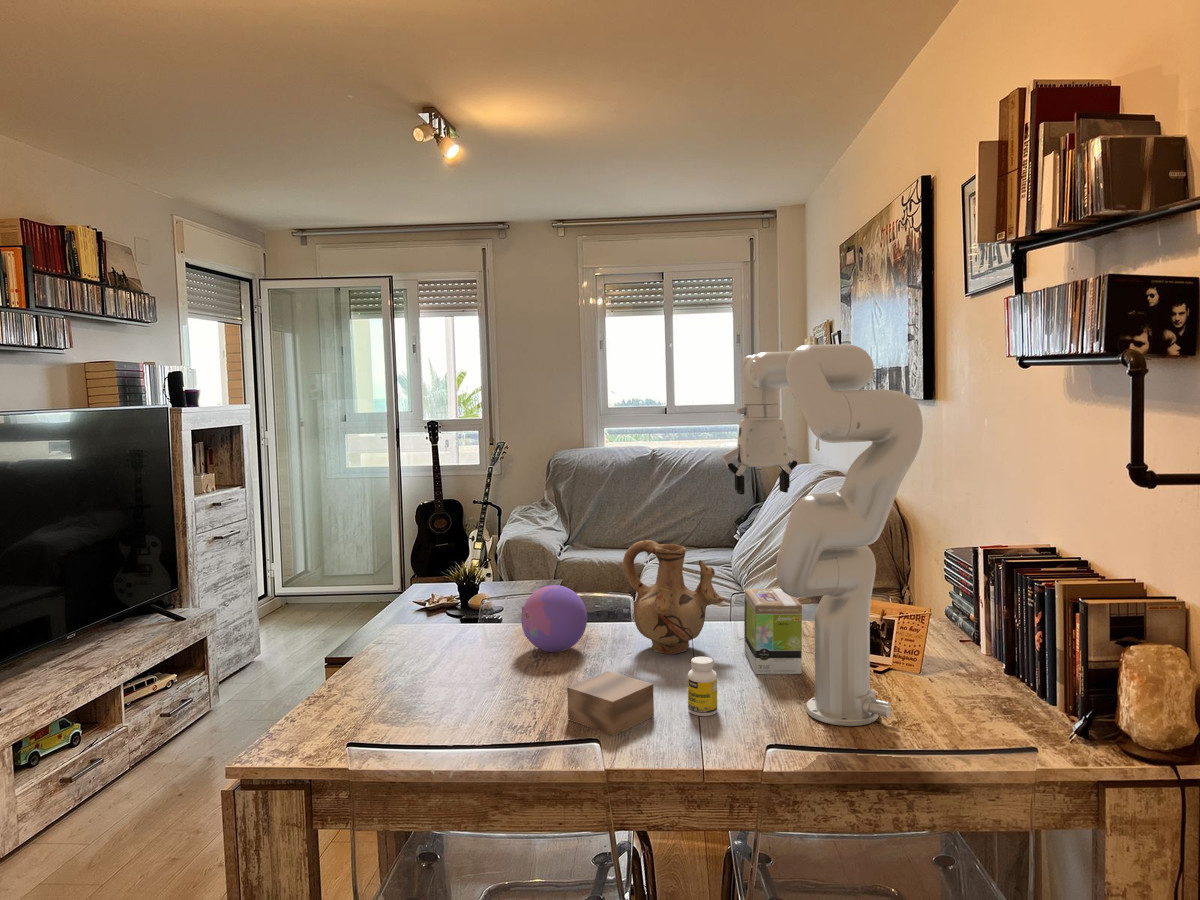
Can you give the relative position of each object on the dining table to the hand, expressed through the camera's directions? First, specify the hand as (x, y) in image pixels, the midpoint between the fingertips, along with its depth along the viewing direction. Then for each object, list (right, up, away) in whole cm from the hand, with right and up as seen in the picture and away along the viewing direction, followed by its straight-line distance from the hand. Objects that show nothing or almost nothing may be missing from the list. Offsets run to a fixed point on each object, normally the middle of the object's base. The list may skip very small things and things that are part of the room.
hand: (762, 492), depth 178 cm
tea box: (+2, -37, 0) cm, 37 cm away
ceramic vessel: (-18, -36, +11) cm, 42 cm away
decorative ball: (-45, -37, +12) cm, 60 cm away
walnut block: (-33, -39, -27) cm, 58 cm away
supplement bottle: (-16, -39, -25) cm, 49 cm away
